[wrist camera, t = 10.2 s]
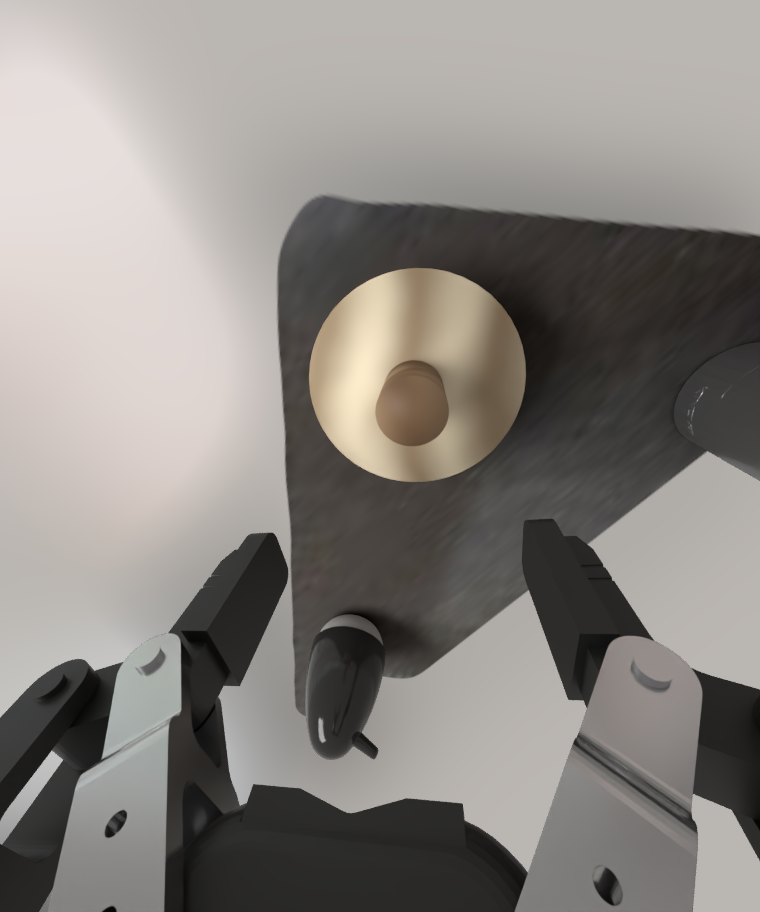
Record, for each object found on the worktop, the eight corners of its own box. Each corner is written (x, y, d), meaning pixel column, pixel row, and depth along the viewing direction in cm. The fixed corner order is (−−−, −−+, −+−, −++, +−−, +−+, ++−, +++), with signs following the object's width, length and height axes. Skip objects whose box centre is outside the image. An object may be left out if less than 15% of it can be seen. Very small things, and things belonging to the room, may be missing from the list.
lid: (525, 246, 20) (562, 230, 15) (519, 467, 27) (543, 510, 22) (288, 292, 23) (249, 293, 18) (337, 482, 30) (319, 524, 25)
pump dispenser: (381, 654, 50) (367, 787, 37) (316, 639, 50) (278, 766, 37) (396, 613, 46) (386, 748, 32) (324, 595, 46) (284, 723, 32)
